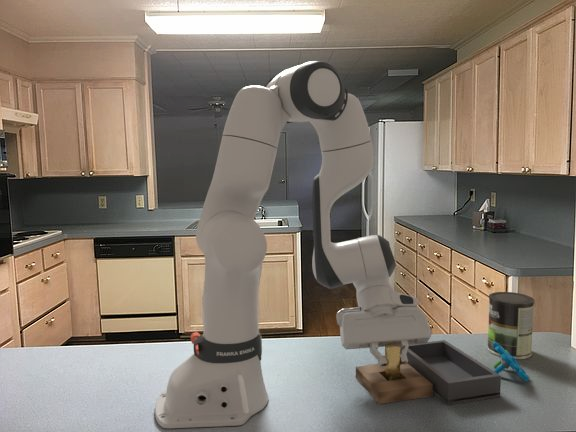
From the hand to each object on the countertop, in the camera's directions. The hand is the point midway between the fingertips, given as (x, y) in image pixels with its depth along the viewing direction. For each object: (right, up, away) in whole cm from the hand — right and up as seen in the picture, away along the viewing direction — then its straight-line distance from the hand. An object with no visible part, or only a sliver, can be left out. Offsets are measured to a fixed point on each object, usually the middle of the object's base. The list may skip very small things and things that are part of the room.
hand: (393, 364), depth 96 cm
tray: (+13, -5, +4) cm, 14 cm away
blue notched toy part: (+27, -5, +5) cm, 28 cm away
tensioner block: (0, -5, +1) cm, 5 cm away
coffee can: (+34, -3, +19) cm, 39 cm away
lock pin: (0, -5, +1) cm, 5 cm away
